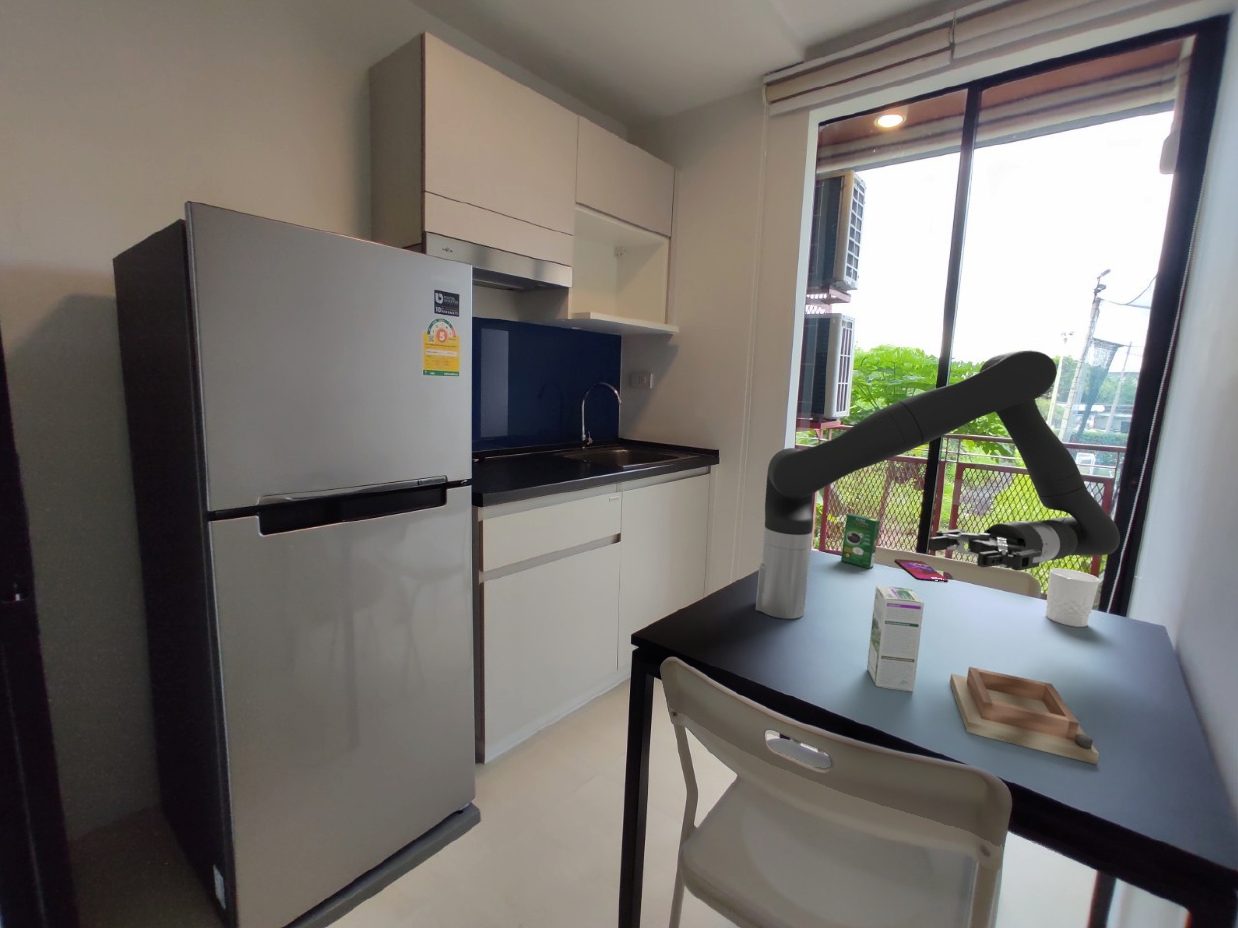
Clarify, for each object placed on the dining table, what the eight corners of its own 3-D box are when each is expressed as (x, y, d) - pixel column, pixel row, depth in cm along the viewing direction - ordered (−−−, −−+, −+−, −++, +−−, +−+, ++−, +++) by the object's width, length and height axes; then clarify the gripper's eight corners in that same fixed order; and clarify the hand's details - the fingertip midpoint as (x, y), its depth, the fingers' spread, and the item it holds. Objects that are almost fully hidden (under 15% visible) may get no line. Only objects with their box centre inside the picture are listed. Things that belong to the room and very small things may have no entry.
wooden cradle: (967, 732, 73) (971, 704, 73) (949, 682, 86) (953, 658, 86) (1096, 764, 68) (1102, 735, 68) (1058, 705, 81) (1062, 681, 80)
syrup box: (914, 692, 83) (927, 602, 81) (873, 686, 84) (884, 597, 82) (903, 673, 88) (914, 588, 86) (864, 668, 89) (874, 584, 87)
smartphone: (916, 578, 134) (893, 558, 149) (916, 581, 134) (893, 561, 149) (949, 580, 133) (923, 560, 148) (949, 584, 133) (922, 564, 148)
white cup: (1032, 612, 117) (1040, 567, 115) (1066, 612, 118) (1074, 568, 116) (1065, 628, 109) (1073, 581, 108) (1101, 628, 110) (1110, 581, 108)
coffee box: (875, 567, 142) (881, 518, 140) (870, 569, 140) (876, 520, 138) (844, 559, 148) (850, 512, 146) (840, 561, 146) (845, 513, 144)
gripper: (982, 512, 99) (917, 518, 93) (1070, 533, 86) (1001, 541, 80) (977, 552, 100) (913, 560, 94) (1064, 578, 87) (995, 590, 81)
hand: (954, 552), depth 87 cm, fingers open, 8 cm apart
